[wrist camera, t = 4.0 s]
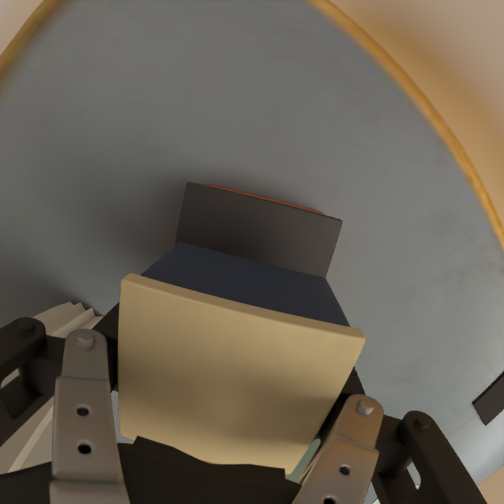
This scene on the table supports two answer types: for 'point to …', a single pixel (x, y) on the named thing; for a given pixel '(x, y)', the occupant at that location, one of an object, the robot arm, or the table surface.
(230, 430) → the top container
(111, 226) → the table surface
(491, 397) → the mat
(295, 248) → the bottom container
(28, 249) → the table surface
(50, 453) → the vase
